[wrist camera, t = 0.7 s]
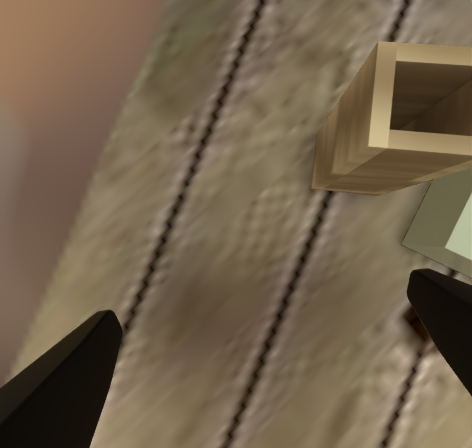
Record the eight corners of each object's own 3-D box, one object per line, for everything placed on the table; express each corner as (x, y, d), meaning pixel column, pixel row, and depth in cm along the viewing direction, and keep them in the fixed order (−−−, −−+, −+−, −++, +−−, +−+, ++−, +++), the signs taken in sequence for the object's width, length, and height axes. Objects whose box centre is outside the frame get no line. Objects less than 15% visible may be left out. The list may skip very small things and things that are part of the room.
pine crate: (378, 195, 20) (503, 158, 10) (311, 188, 21) (368, 146, 11) (383, 139, 20) (511, 49, 10) (317, 134, 21) (378, 41, 11)
